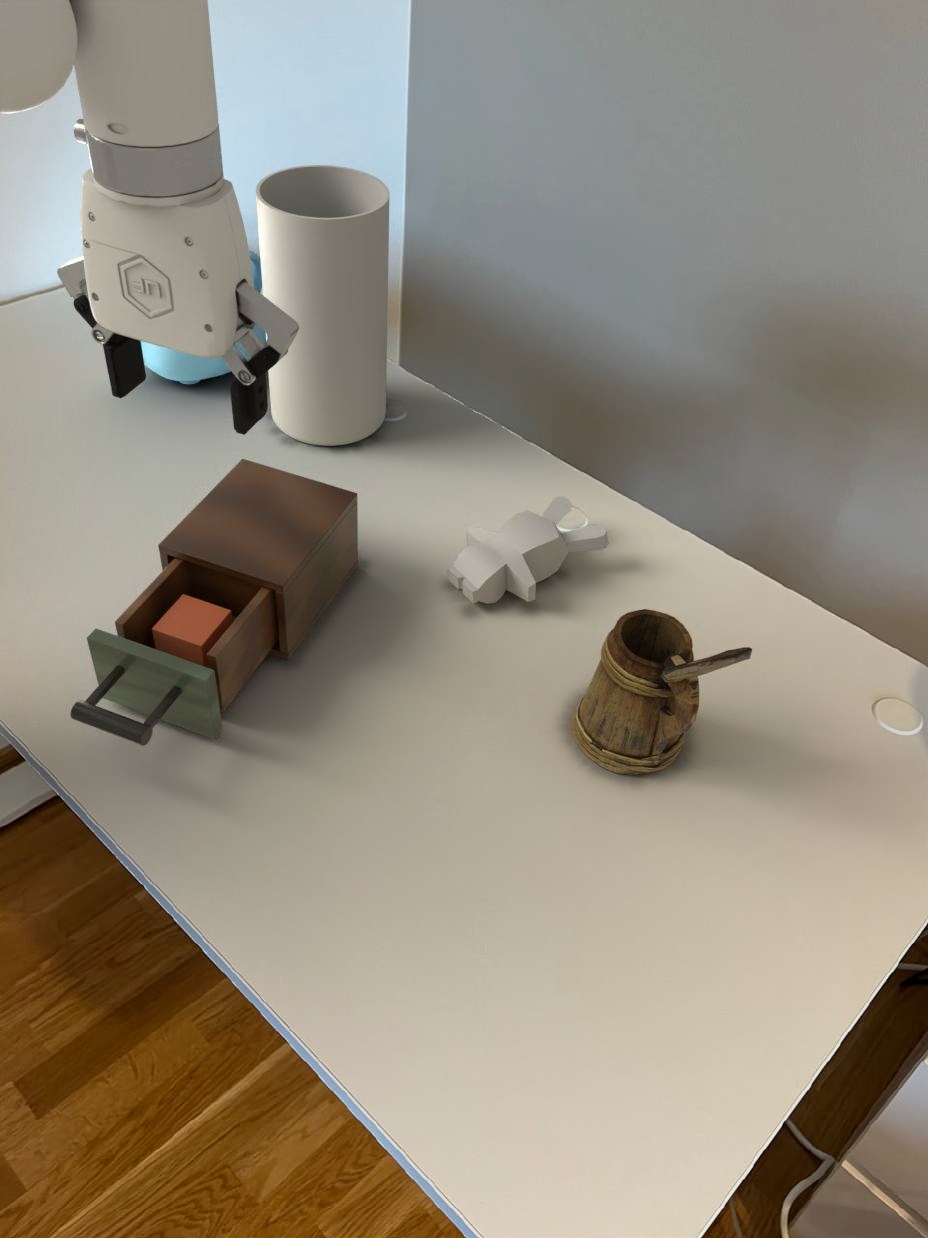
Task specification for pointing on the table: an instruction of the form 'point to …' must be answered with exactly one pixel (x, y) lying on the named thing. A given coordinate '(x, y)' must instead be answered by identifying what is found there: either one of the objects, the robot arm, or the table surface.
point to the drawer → (169, 681)
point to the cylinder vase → (327, 299)
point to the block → (191, 629)
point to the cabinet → (274, 541)
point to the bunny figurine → (520, 553)
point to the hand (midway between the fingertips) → (189, 405)
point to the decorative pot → (195, 367)
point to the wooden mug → (643, 693)
